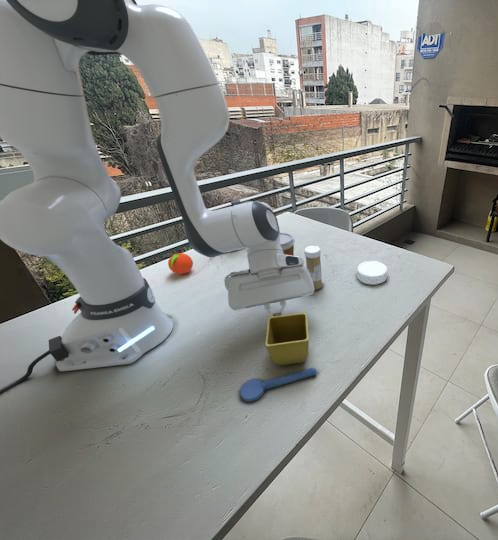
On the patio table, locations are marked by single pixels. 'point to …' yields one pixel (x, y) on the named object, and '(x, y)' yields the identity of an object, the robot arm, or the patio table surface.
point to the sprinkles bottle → (314, 265)
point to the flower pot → (287, 338)
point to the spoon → (270, 384)
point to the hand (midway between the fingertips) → (277, 320)
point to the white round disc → (372, 272)
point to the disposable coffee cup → (287, 243)
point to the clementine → (180, 263)
